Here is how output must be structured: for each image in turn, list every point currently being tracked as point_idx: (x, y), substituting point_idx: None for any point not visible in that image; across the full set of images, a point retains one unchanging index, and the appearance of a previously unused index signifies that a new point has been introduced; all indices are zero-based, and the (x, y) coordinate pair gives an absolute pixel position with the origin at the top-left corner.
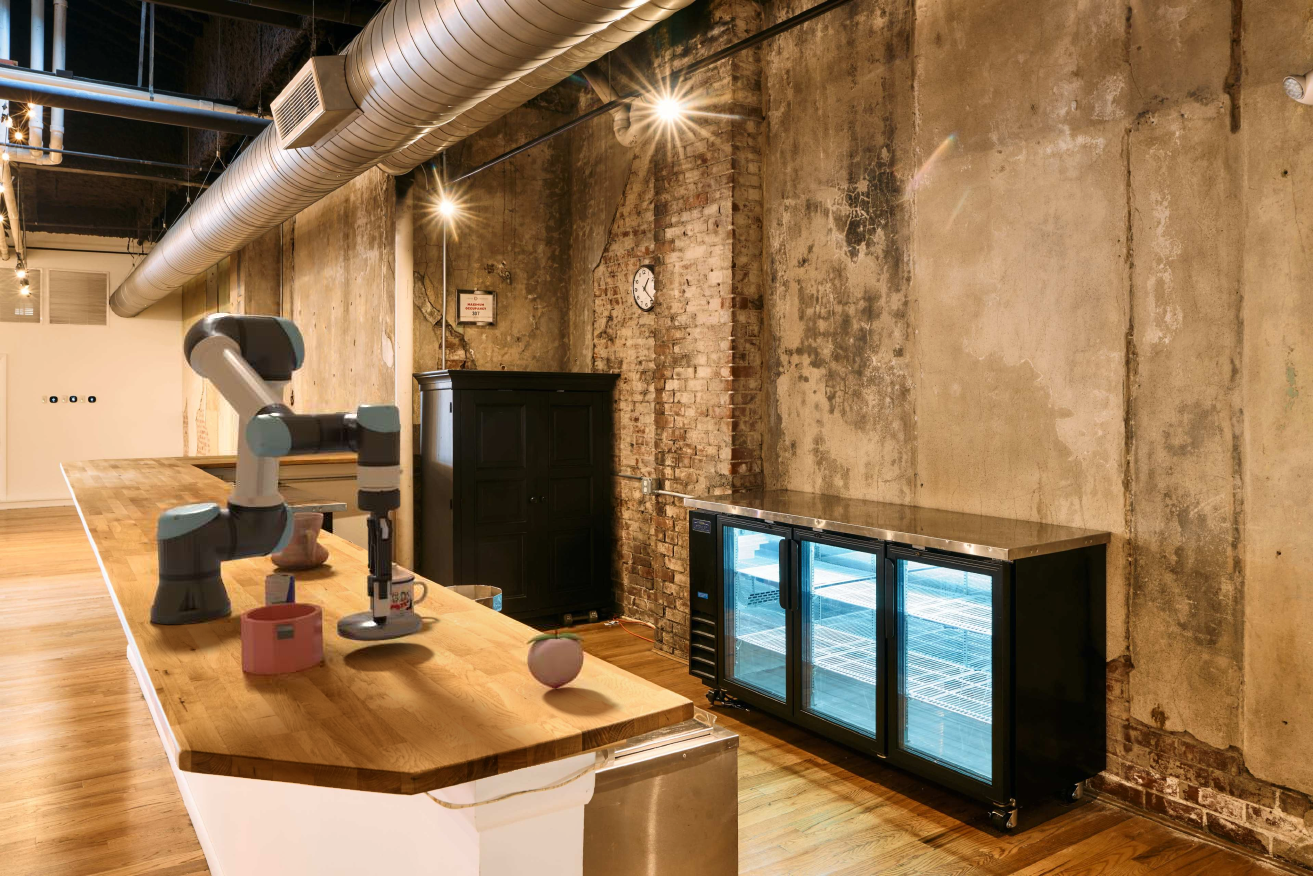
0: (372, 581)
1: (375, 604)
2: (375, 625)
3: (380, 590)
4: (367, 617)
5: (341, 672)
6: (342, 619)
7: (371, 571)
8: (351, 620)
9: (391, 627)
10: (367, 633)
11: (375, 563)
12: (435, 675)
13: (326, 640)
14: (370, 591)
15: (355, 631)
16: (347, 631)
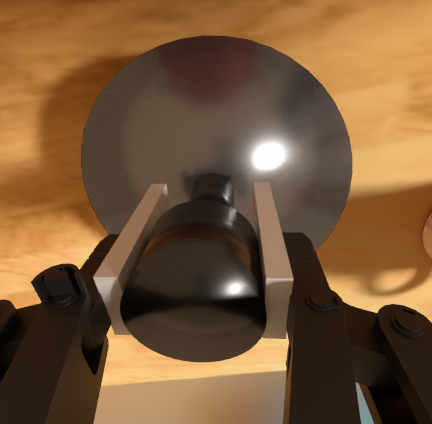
0: (44, 273)
1: (138, 209)
2: (161, 173)
3: (87, 266)
4: (269, 161)
5: (37, 40)
6: (284, 65)
7: (294, 306)
8: (254, 101)
9: (129, 211)
10: (83, 140)
11: (5, 413)
12: (5, 231)
13: (390, 9)
14: (161, 223)
15: (102, 102)
16: (118, 73)
